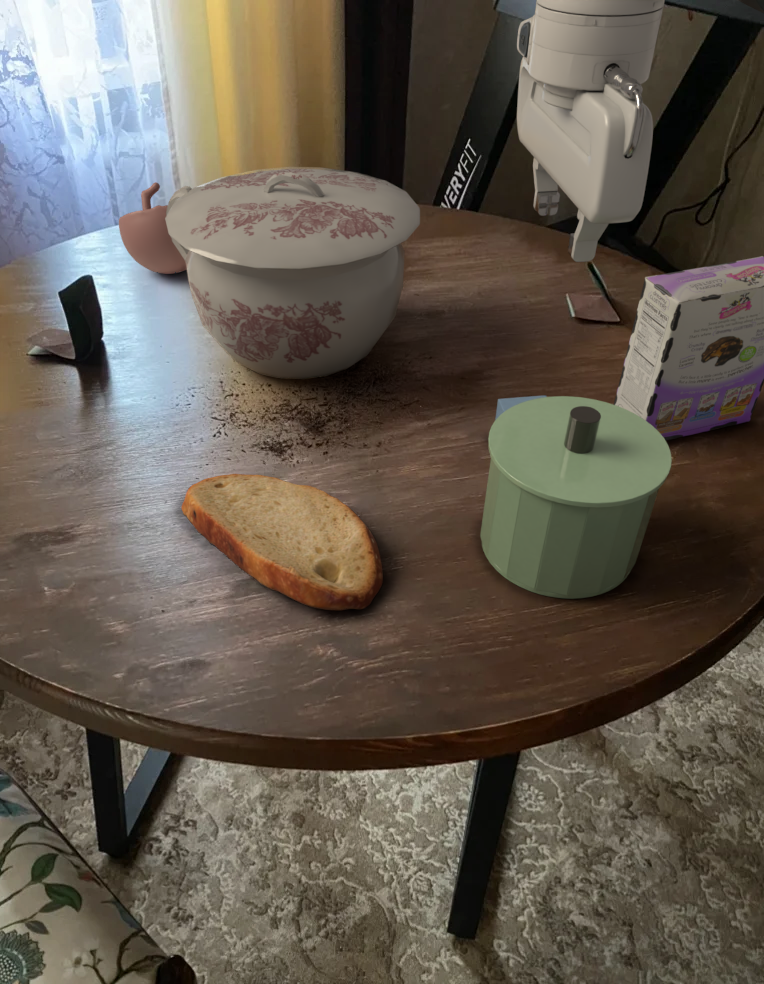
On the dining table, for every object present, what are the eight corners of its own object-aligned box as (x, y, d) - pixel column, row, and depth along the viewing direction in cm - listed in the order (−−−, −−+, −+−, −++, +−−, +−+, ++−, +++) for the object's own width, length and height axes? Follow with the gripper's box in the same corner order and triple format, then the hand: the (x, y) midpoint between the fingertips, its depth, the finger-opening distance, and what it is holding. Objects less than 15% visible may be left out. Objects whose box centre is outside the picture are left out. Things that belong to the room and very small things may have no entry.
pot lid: (628, 400, 75) (638, 360, 72) (699, 505, 64) (714, 462, 62) (468, 413, 74) (473, 372, 71) (514, 521, 63) (521, 479, 60)
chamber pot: (451, 384, 95) (468, 201, 81) (215, 433, 88) (189, 241, 74) (364, 281, 115) (366, 119, 101) (165, 314, 108) (137, 145, 94)
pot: (602, 490, 81) (626, 398, 74) (658, 590, 71) (692, 495, 64) (465, 502, 80) (476, 410, 73) (503, 606, 70) (520, 511, 63)
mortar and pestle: (200, 246, 124) (190, 165, 116) (225, 279, 115) (216, 195, 108) (119, 260, 120) (103, 178, 112) (139, 295, 112) (123, 209, 104)
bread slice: (184, 488, 82) (178, 457, 79) (368, 479, 83) (368, 449, 80) (168, 627, 68) (161, 595, 66) (387, 614, 69) (389, 583, 67)
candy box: (716, 395, 94) (764, 253, 82) (750, 424, 89) (806, 278, 78) (607, 418, 90) (643, 273, 79) (638, 448, 86) (679, 300, 75)
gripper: (693, 86, 54) (645, 287, 63) (586, 17, 69) (560, 188, 78) (599, 91, 54) (564, 293, 63) (512, 21, 69) (494, 192, 78)
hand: (561, 234), depth 71 cm, fingers open, 8 cm apart
